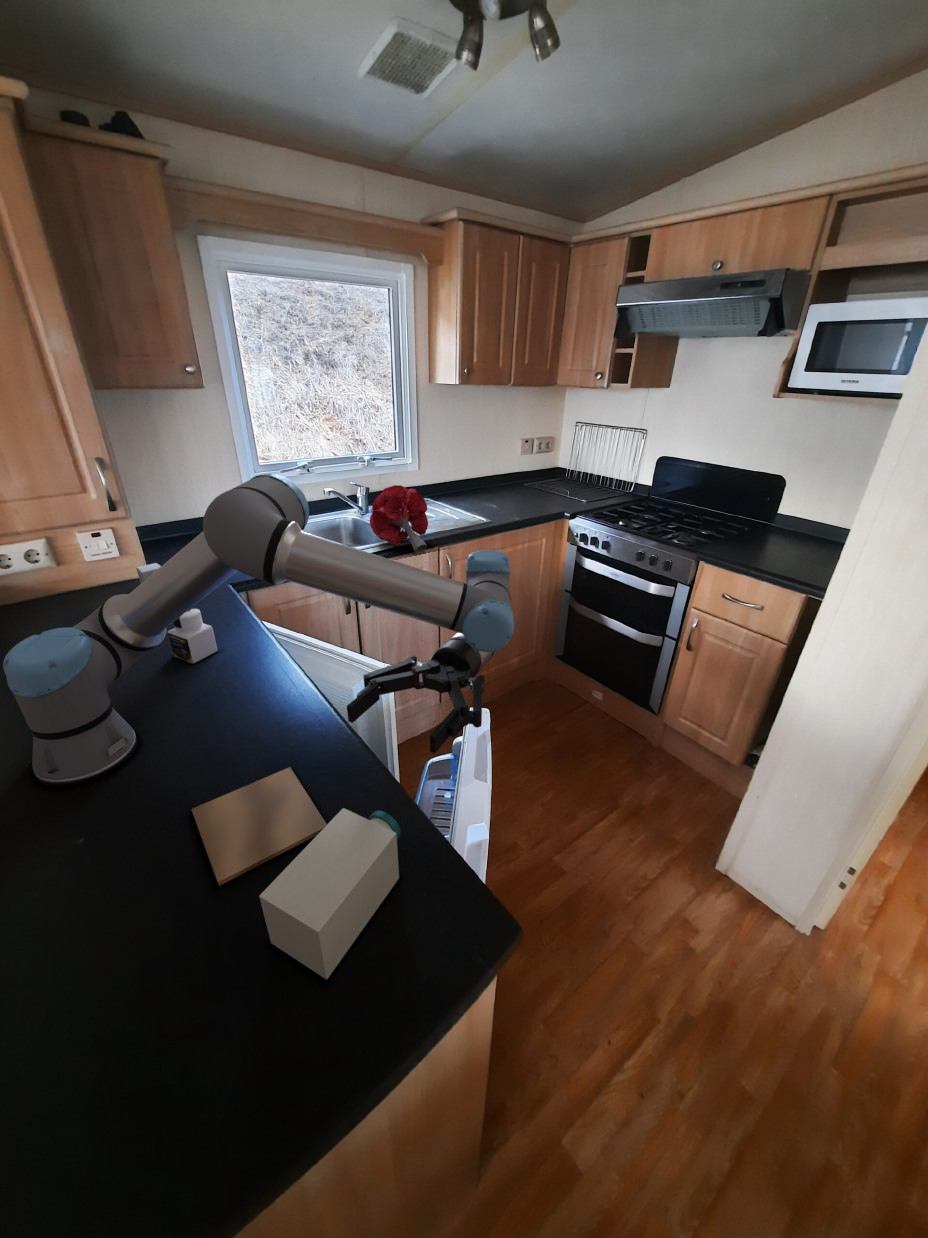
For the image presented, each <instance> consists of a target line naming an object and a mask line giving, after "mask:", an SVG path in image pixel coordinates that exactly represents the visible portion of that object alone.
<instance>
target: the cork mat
mask: <svg viewBox="0 0 928 1238" xmlns="http://www.w3.org/2000/svg"><path fill="white" fill-rule="evenodd" d="M191 813H192V815H193V819H194V821H195V824H196V827H197V830H198V833H199V835H200V838H201V840H202V843H203V846H204V849H205V852H206V855H207V858H208V861H209V863H210V866H211V868H212V871H213V874H214V877H215V880H216V883H217V885H218V887H220V886H222V885H224V884H226V883H227V882H230V881H232V880H234V879H235V878H237V877H239V876H241V875H243V874H246V873H247V872H249V871H251V870H253V869H255V868H256V867H260V866H261V865H263V864H264V863H266V862H268V861H270V860H272V859H274V858H276V857H278V856H279V855H282V854H284V853H285V852H288V851H290V850H291V849H293V848H296V847H297V846H299V845H301V844H303V843H305V842H307V841H309V840H311V839H312V838H313V839H314V838H315V837H316V836H317V835H318V834H319V833H320V832H321V831H322V830H323V829H324V828H325V826H326V825H327V824H328V823H327V822H326V821H325V819H324V818H323V816H322V814H321V812H320V811H319V810H318V809H317V807H316V805H315V804H314V802H313V800H312V799H311V797H310V796H309V794H308V793H307V791H306V790H305V788H304V786H303V785H302V783H301V782H300V780H299V778H298V777H297V776H296V774H295V772H294V771H293V769H292V767H291V766H289V767H287V768H284V769H281V770H279V771H277V772H275V773H272V774H270V775H268V776H266V777H263V778H261V779H259V780H255V781H254V782H251V783H248V784H247V785H244V786H242V787H240V788H238V789H235V790H233V791H231V792H228V793H226V794H223V795H221V796H218V797H216V798H214V799H212V800H209V801H207V802H204V803H202V804H199V805H197V806H196V807H193V808H191Z"/></svg>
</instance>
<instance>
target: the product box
mask: <svg viewBox="0 0 928 1238" xmlns="http://www.w3.org/2000/svg"><path fill="white" fill-rule="evenodd" d="M160 567H161V565H160V564H158V562H154V563H150V564H144V565H140V566H136V567H135V569H136V572H137V577H138V580H139V583H140V584H141V583H142V582H144V581H145V580H146V579H147V578H148V577H150V576H151V575H152V574H153V573H154V572H155V571H157V570H158V569H159V568H160Z"/></svg>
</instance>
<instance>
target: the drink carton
mask: <svg viewBox="0 0 928 1238" xmlns="http://www.w3.org/2000/svg"><path fill="white" fill-rule="evenodd" d="M326 824H327V825H326V826H325V828H324V829H323V830H322V831H321V832H320V833H319V834H318V835H317V836H315V837H313V839H312V840H311V841H310V842H309V843H308V844H307V845H306V846H305V848H303V849H302V850H301V852H300V853H298V854H297V856H296V857H295V858H294V859H293V860H292V861H290V863H289V864H288V865H287V866H286V867H285V868H284V869H283V870H282V872H280V873H279V875H277V876H276V878H275V879H273V881H272V882H271V883H270V884H269V885H268V886H267V887H266V888H265V889H264V890H263V891H262V892H261V893H260V895H258V897H259V899H260V900H259V901H260V904H261V909H262V912H263V917H264V921H265V924H266V925H265V926H266V928H267V933H268V937H269V940H270V943H271V945H273V946H275V947H276V948H278V949H279V950H280V951H282V952H284V953H285V954H287V955H288V956H290V957H292V959H295V960H296V961H297V962H299V963H301V964H302V965H304V966H305V967H307V968H308V969H310V970H311V971H312V972H314V973H315V974H318V975H319V976H320V977H322V978H323V979H325V980H328V979H329V978H330V976H331V975H332V973H333V972H334V971H335V969H336V968H337V967H338V965H339V964H340V962H341V961H342V960H343V958H344V957H345V955H346V954H347V952H348V951H349V950H350V948H351V947H352V945H353V944H354V942H355V941H356V940H357V938H358V937H359V936H360V934H361V932H362V931H364V930H363V929H365V927H366V926H367V924H368V923H369V922H370V920H371V918H372V917H373V916H374V914H375V913H376V912H377V910H378V909H379V907H380V905H381V904H382V903H383V902H384V900H385V899H386V897H387V896H388V895H389V893H390V892H391V891H392V889H393V888H394V886H395V885H396V883H397V882H398V880H399V879H400V870H399V869H400V867H399V855H398V854H399V852H398V840H399V838H400V837H401V834H402V832H401V831H402V830H401V827H400V825H399V824H398V822H397V821H396V820H395V818H393V816H392V815H390V814H389V813H387V812H385V811H382V810H375V811H373V812H372V813H371V814H370V815H369V817H368V818H366V817H363V816H361V815H359V814H358V813H355V812H352V810H350V809H346V808H344V807H343V808H341V809H340V810H339V812H338V813H336V815H335V816H334V817H333V818H332V819H331V820H330V821H329V822H328V823H326Z"/></svg>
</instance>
